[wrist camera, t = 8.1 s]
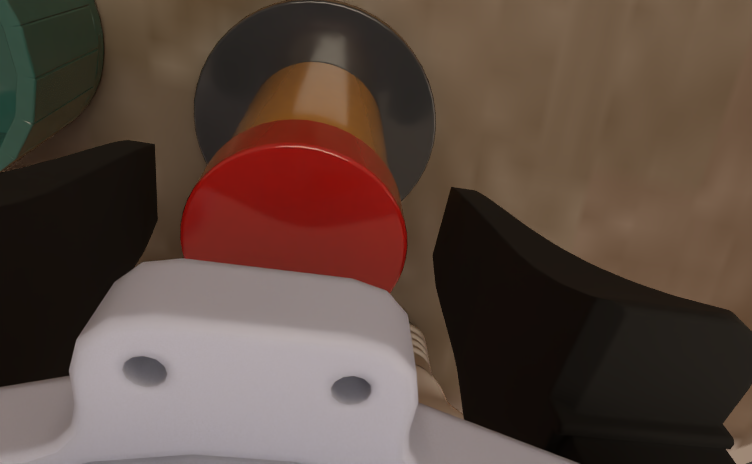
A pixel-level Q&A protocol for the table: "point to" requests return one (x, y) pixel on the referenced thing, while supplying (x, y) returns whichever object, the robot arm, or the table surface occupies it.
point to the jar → (302, 184)
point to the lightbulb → (428, 377)
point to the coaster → (327, 45)
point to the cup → (45, 69)
